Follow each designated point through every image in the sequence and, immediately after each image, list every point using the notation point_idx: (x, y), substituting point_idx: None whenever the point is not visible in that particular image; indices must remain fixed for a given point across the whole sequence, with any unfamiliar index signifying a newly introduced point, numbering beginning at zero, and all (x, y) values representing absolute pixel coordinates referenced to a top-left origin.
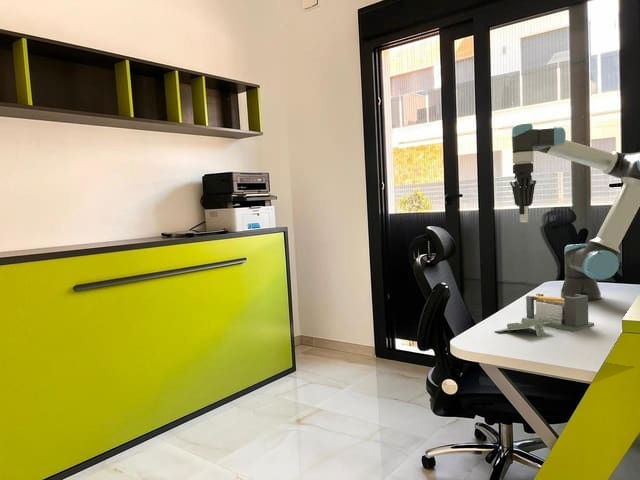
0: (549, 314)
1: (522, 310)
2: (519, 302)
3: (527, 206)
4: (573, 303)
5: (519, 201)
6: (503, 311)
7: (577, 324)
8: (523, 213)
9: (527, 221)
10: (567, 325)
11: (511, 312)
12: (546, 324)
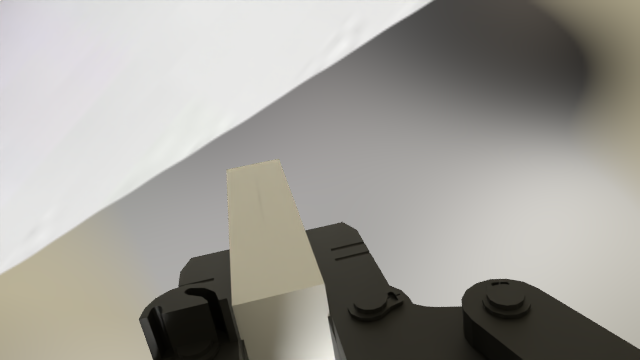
0: None
1: (297, 8)
2: (205, 134)
3: (250, 294)
4: None
5: (592, 328)
6: (369, 36)
7: None
8: (323, 232)
9: (244, 170)
10: None
11: (357, 4)
12: None
